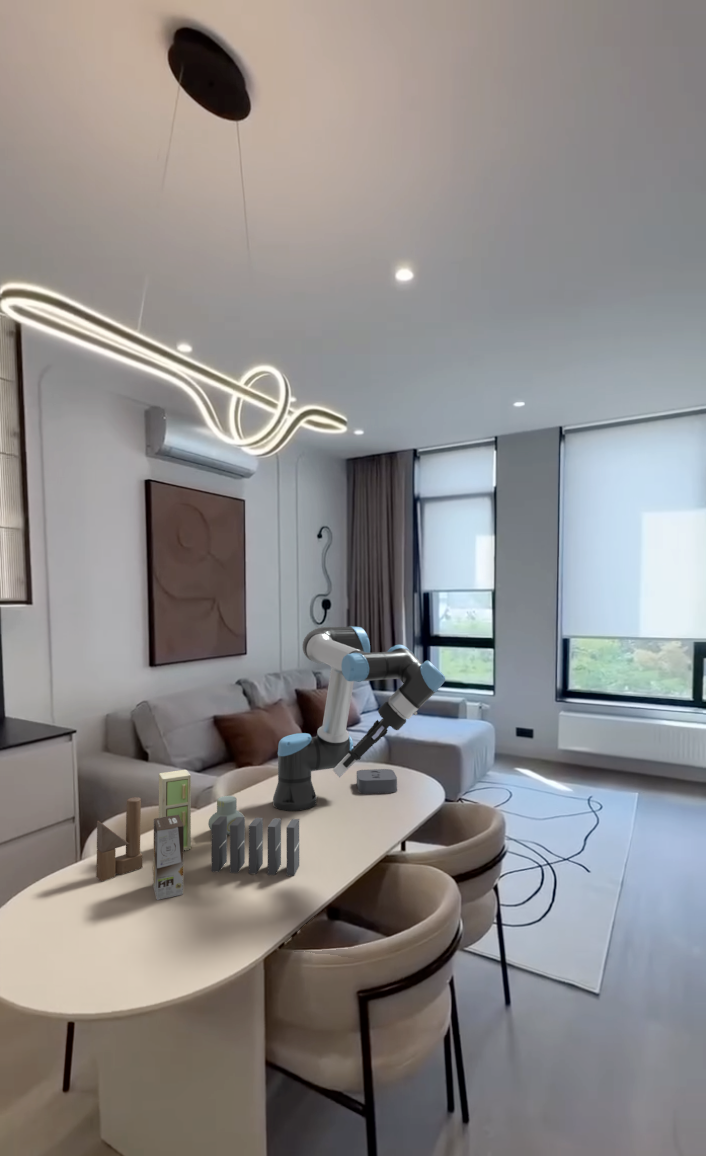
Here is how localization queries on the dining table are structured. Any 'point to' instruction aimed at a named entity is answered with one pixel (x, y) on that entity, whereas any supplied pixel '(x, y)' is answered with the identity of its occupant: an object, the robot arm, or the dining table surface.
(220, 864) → the domino
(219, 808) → the air freshener
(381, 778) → the streaming box
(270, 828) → the domino
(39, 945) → the dining table surface
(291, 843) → the domino
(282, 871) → the dining table surface
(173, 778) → the toy refrigerator
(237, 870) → the domino
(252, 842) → the domino
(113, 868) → the brown angular blocky piece
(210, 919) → the dining table surface
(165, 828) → the coffee box
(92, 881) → the dining table surface
